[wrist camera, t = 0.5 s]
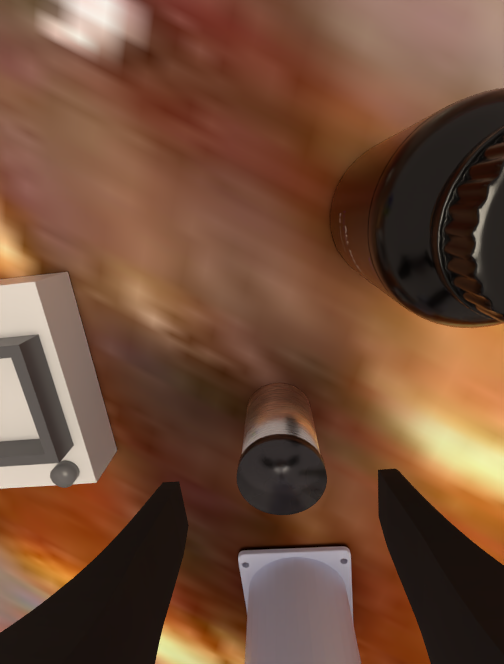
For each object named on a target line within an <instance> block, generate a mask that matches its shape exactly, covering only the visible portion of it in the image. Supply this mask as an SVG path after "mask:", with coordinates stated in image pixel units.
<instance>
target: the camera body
mask: <svg viewBox="0 0 504 664" xmlns="http://www.w3.org/2000/svg"><path fill="white" fill-rule="evenodd" d="M116 452H117V448H116V444H115V441H114V437H113V433H112V430H111V426H110V423H109V419H108V415H107V412H106V408H105V405H104V401H103V397H102V394H101V390H100V386H99V383H98V379H97V376H96V372H95V368H94V365H93V361H92V357H91V354H90V350H89V347H88V343H87V339H86V336H85V332H84V329H83V325H82V321H81V318H80V314H79V310H78V307H77V303H76V300H75V296H74V292H73V289H72V285H71V281H70V278H69V274H68V272H61V273H52V274H43V275H34V276H25V277H16V278H7V279H0V488H16V487H33V486H49V485H57V486H59V487H69V486H71V485H72V484H82V483H97V481H98V480H99V478H100V477H101V475H102V473H103V472H104V470H105V469H106V467H107V466H108V464H109V462H110V461H111V459H112V458H113V456H114V455H115V453H116Z"/></svg>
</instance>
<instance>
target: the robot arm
mask: <svg viewBox="0 0 504 664" xmlns="http://www.w3.org/2000/svg"><path fill="white" fill-rule="evenodd" d="M378 503H379V519H380V523H381V526H382V530H383V534H384V537H385V541H386V544H387V547H388V550H389V552H390V555H391V557H392V560H393V562H394V565H395V567H396V570H397V572H398V575H399V577H400V580H401V582H402V585H403V587H404V590H405V592H406V595H407V597H408V599H409V602H410V604H411V607H412V609H413V612H414V614H415V617H416V620H417V622H418V625H419V628H420V631H421V633H422V636H423V640H424V643H425V646H426V649H427V652H428V656H429V659H430V662H431V664H504V565H502V564H501V563H500V562H498V561H497V560H495V559H494V558H493V557H492V556H490V555H489V554H488V553H486V552H485V551H484V550H482V549H481V548H480V547H478V546H477V545H476V544H475V543H474V542H472V541H471V540H470V539H469V538H467V537H466V536H465V535H464V534H463V533H462V532H460V531H459V530H458V529H457V528H456V527H455V526H454V525H452V524H451V523H450V522H449V521H448V520H447V519H446V518H445V517H444V516H443V515H442V514H441V513H439V512H438V511H437V510H436V509H435V508H434V507H433V506H432V505H431V504H430V503H429V502H428V501H427V500H426V499H425V498H424V497H423V496H422V495H421V494H420V493H419V492H418V491H417V490H416V489H415V488H414V487H413V486H412V485H411V484H410V483H409V482H408V480H407V479H406V478H405V477H404V476H403V475H402V474H401V473H400V472H399V471H398V470H397V469H384V470H378ZM187 531H188V521H187V516H186V512H185V507H184V502H183V498H182V493H181V488H180V484H179V482H165V483H162V484H161V486H160V487H159V488H158V489H157V490H156V491H155V493H154V494H153V495H152V496H151V497H150V499H149V500H148V501H147V502H146V503H145V505H144V506H143V507H142V508H141V509H140V511H139V512H138V513H137V514H136V515H135V516H134V517H133V519H132V520H131V521H130V522H129V523H128V524H127V526H126V527H125V528H124V529H123V530H122V531H121V532H120V533H119V534H118V535H117V536H116V538H115V539H114V540H113V541H112V542H111V543H110V544H109V545H108V546H107V547H106V548H105V549H104V550H103V551H102V552H101V553H100V554H99V555H98V556H97V557H96V558H95V559H94V560H93V561H92V562H91V563H90V564H89V565H87V566H86V567H85V568H84V569H83V570H82V571H81V572H80V573H79V574H77V575H76V576H75V577H74V578H73V579H72V580H70V581H69V582H68V583H67V584H65V585H64V586H63V587H62V588H61V589H59V590H58V591H57V592H56V593H54V594H53V595H52V596H51V597H49V598H48V599H47V600H46V601H44V602H43V603H42V604H40V605H39V606H38V607H36V608H35V609H34V610H32V611H31V612H30V613H28V614H27V615H25V616H24V617H23V618H21V619H20V620H18V621H17V622H15V623H14V624H13V625H11V626H10V627H8V628H7V629H5V630H4V631H2V632H1V633H0V664H155V660H156V655H157V650H158V645H159V640H160V636H161V632H162V628H163V624H164V621H165V617H166V614H167V610H168V607H169V604H170V600H171V597H172V593H173V590H174V586H175V583H176V579H177V576H178V572H179V569H180V565H181V562H182V558H183V554H184V549H185V543H186V537H187ZM238 562H239V568H240V574H241V580H242V586H243V592H244V598H245V603H246V609H247V633H246V650H245V664H361V660H360V655H359V650H358V645H357V640H356V635H355V630H354V625H353V601H352V574H351V554H350V550H349V548H347V547H345V546H334V547H311V548H287V549H264V550H244V551H241V552H240V553H239V555H238ZM245 562H246V563H245Z"/></svg>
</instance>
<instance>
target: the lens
mask: <svg viewBox="0 0 504 664" xmlns="http://www.w3.org/2000/svg"><path fill="white" fill-rule="evenodd" d="M326 483H327V475H326V470H325V465H324V461H323V458H322V456H321V454H320V451H319V446H318V441H317V436H316V431H315V426H314V421H313V416H312V411H311V406H310V403H309V400H308V398H307V397H306V395H305V394H304V393H303V392H302V391H301V390H299V389H298V388H296V387H294V386H292V385H289V384H285V383H273V384H269V385H266V386H263V387H262V388H260V389H258V390H257V391H256V392H255V393H254V394H253V395H252V396H251V398H250V400H249V402H248V406H247V413H246V422H245V430H244V438H243V447H242V455H241V457H240V460H239V463H238V470H237V484H238V488H239V490H240V492H241V494H242V496H243V497H244V498H245V499H246V501H247V502H249V503H250V504H251V505H252V506H254V507H255V508H257V509H259V510H261V511H263V512H266V513H270V514H276V515H290V514H295V513H299V512H302V511H304V510H306V509H308V508H310V507H311V506H312V505H314V504H315V503H316V502H317V501H318V500H319V499H320V497H321V496H322V494H323V493H324V490H325V488H326Z"/></svg>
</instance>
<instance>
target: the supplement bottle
mask: <svg viewBox="0 0 504 664" xmlns="http://www.w3.org/2000/svg"><path fill="white" fill-rule="evenodd" d="M330 225H331V232H332V236H333V239H334V242H335V245H336V247H337V249H338V251H339V253H340V254H341V256H342V257H343V258H344V260H345V261H346V262H347V263H348V264H349V265H350V266H351V267H352V268H353V269H354V270H355V271H357V272H358V273H359V274H360V275H362V276H363V277H364V278H366V279H367V280H368V281H370V282H371V283H372V284H374V285H375V286H376V287H378V288H379V289H380V290H382V291H383V292H384V293H386V294H387V295H388V296H390V297H391V298H392V299H394V300H395V301H396V302H398V303H399V304H400V305H402V306H403V307H405V308H406V309H408V310H409V311H411V312H413V313H414V314H416V315H418V316H420V317H422V318H424V319H426V320H429V321H431V322H434V323H437V324H441V325H446V326H450V327H459V328H478V327H488V326H494V325H499V324H503V323H504V88H500V89H494V90H490V91H485V92H482V93H479V94H476V95H473V96H470V97H467V98H465V99H462V100H460V101H458V102H455V103H453V104H451V105H449V106H447V107H445V108H443V109H441V110H440V111H438V112H436V113H434V114H432V115H430V116H429V117H427V118H425V119H423V120H421V121H419V122H418V123H416V124H414V125H412V126H410V127H409V128H407V129H405V130H403V131H401V132H399V133H398V134H396V135H394V136H392V137H390V138H388V139H387V140H385V141H383V142H381V143H379V144H378V145H376V146H374V147H373V148H371V149H370V150H368V151H367V152H365V153H364V154H363V155H361V156H360V157H359V158H358V159H357V160H356V161H355V162H354V163H353V164H352V165H351V166H350V167H349V169H348V170H347V171H346V173H345V174H344V176H343V177H342V179H341V181H340V182H339V184H338V187H337V189H336V191H335V194H334V197H333V201H332V206H331V214H330Z"/></svg>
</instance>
